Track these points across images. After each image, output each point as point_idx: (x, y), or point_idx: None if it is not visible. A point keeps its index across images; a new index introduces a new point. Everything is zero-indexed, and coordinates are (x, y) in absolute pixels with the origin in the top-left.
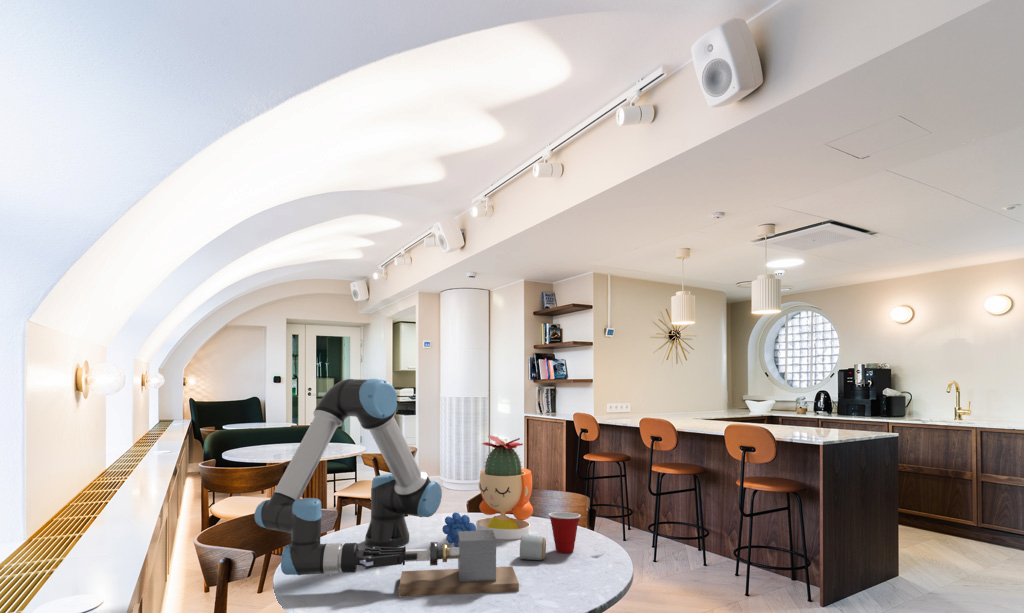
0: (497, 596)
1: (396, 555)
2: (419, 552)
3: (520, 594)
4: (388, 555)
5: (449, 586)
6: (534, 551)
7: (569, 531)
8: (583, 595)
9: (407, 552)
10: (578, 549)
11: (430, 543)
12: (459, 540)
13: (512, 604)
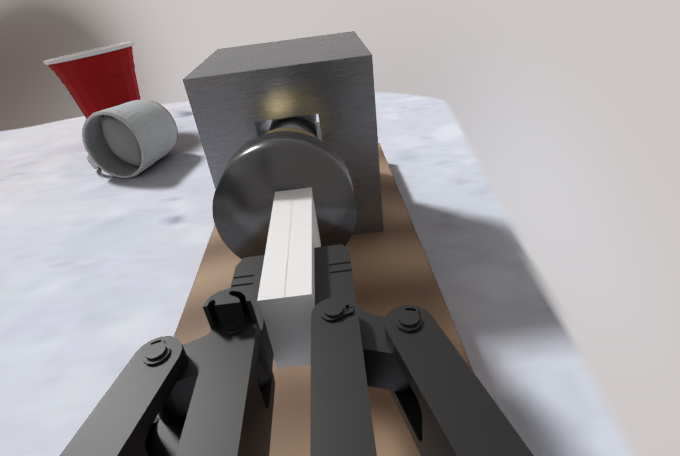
0: (424, 184)
1: (447, 347)
2: (312, 232)
3: (404, 158)
4: (465, 439)
5: (422, 250)
6: (166, 133)
7: (135, 80)
8: (401, 109)
9: (313, 290)
10: None
11: (285, 148)
12: (350, 61)
13: (477, 161)
